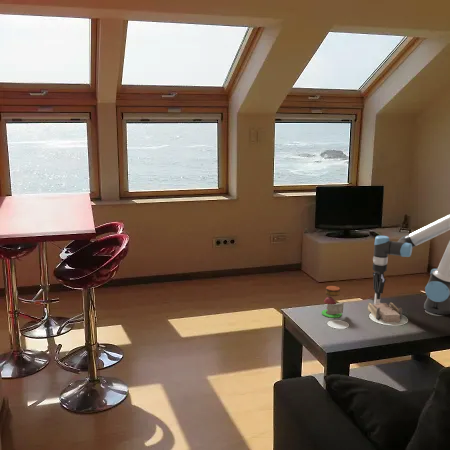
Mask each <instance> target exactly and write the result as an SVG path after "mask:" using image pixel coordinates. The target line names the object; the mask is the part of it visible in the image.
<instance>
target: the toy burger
mask: <svg viewBox="0 0 450 450" xmlns="http://www.w3.org/2000/svg"><path fill="white" fill-rule="evenodd" d="M340 292H341V288H340V287H339V286H336V285H327V286H326V287H325V295H326V296H327V297H325V299H324V300H323V302H324V303H325V304H326V305H327V306H326V309H323V310H322V311H321V315H322V316H324V317H326V318H331V319H332V318H333V319H335V318H341V316H342V313H344V304H345V303H344V302H345V301H344V302H342V303H339V304H337V302H336V300H335V299H334V298H333V297H338V296H340V294H341V293H340Z"/></svg>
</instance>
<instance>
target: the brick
mask: <svg viewBox="0 0 450 450" xmlns="http://www.w3.org/2000/svg"><path fill="white" fill-rule="evenodd" d="M372 305H373V306H374V307H375V308H376V309H377V308H380V313H379V319H381V320H382V321H384V322H385V323H399V322H401V321H400V320H401V319H400V314H399V313H397V312H396V311H394V310H393V309H392V308H391V307H390V306H389V305H390V304H388V303H386V302H380V303H378V304H374V303H373V304H372Z"/></svg>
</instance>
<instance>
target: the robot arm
mask: <svg viewBox="0 0 450 450" xmlns="http://www.w3.org/2000/svg"><path fill="white" fill-rule="evenodd" d="M448 231H450V213H449V214H447V215H445V216H443V217H441V218H439V219H437V220H435V221H433V222H431V223H429V224H427V225H425V226H423V227H421V228H419V229H417V230H415V231H412V232H411V233H409V234H407V235H403V236H402V237H400V238H399V239H398V240H397V241H393V240H390V237H389V236H388V235H376V236H375V237H374V238H375V239H374V244H373V246H374V247H373V257H372V261H373V263H372V270H373V272H372V275H373V277H372V280H373V283H372V284H373V291H374V302H373V304H378V303H381V296H382V294H383V293H384V287H385V283H386V278H385V274H384V273H386V272H387V271H388V263H389V262H388V259H389V255H391V256H398V257H402V258H405V257H406V258H409V257H411V256H412V252H413V248H415V247H417V246H418V245H421V244H423V243H426V242H427V241H429V240H433V238H436V237H439V236H440V235H442V234H444V233H447V232H448ZM429 275H430V277H429V279H428V282H427V284H426V285H425V287H424V291H425V295H426V296H427V298H426V300H425V301H424V304H423V308H424V310H425V309H426V310H425V311H427V312H430V313H432V314H435V313H437V314H436V315H443V314H446V315H450V240H449V241H448V243H447V246H446V248H445V251H444V253H443V255H442V258H441V259H440V262H439V264H438V267H437V268H432V269H431V270H430V273H429Z"/></svg>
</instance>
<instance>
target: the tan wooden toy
mask: <svg viewBox="0 0 450 450" xmlns="http://www.w3.org/2000/svg"><path fill="white" fill-rule="evenodd" d="M388 305H389V306H390V307H391V308H392V309H393V310H394V311H396V312H397V313H399V314H400V320H401V319H402V314H403V307H401V306H399V307H397V306H396V305H395V304H394V303H393V302H389V304H388ZM367 311H368V312H369V313H370V312H371V313H370V314H371V315H372V316H373V317H374V318H375V320H380V317H379V313H380V308H377V309H376V308H375V307H374V306H373V304H372V303H371V302H368V303H367Z"/></svg>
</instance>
